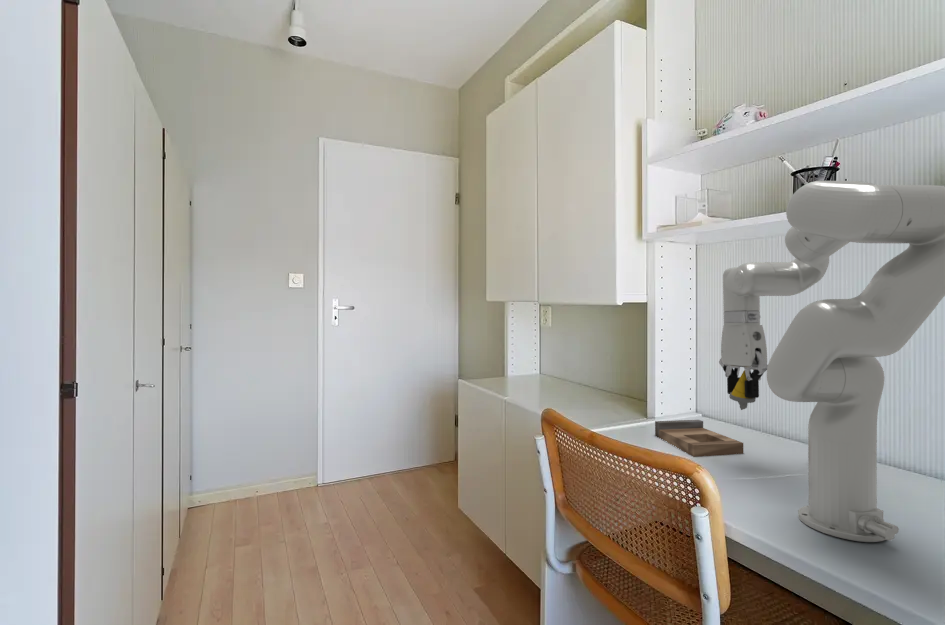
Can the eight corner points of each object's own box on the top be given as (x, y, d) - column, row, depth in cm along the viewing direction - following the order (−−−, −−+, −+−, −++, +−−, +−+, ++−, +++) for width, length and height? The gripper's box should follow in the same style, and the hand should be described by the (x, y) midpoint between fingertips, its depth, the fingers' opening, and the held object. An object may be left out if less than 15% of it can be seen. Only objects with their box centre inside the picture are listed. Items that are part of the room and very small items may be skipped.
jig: (743, 454, 119) (743, 435, 119) (693, 457, 117) (693, 437, 117) (698, 436, 137) (698, 419, 137) (655, 438, 135) (655, 421, 135)
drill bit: (747, 406, 113) (750, 366, 111) (758, 414, 107) (762, 373, 106) (724, 405, 113) (727, 366, 111) (734, 414, 108) (738, 372, 106)
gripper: (784, 318, 102) (786, 401, 102) (730, 319, 119) (731, 390, 119) (754, 318, 101) (755, 402, 101) (703, 319, 118) (705, 391, 118)
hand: (742, 394), depth 110 cm, fingers closed on drill bit, 5 cm apart
